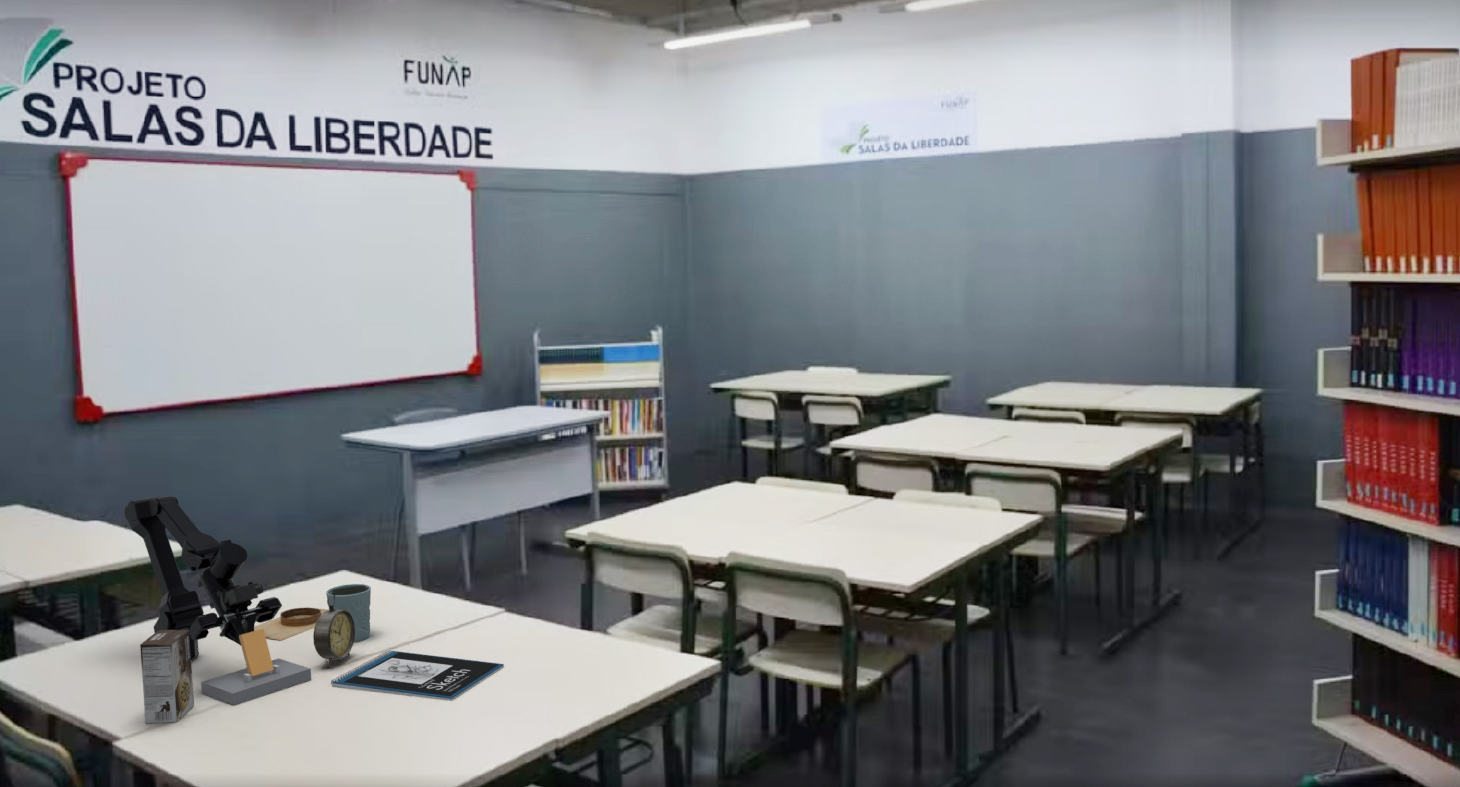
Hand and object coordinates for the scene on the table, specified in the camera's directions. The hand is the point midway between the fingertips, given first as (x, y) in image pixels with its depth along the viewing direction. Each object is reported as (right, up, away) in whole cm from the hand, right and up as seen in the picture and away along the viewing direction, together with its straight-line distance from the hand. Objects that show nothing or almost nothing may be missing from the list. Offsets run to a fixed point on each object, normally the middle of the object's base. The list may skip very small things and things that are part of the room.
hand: (253, 650), depth 244 cm
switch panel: (+1, -8, 0) cm, 8 cm away
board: (-8, -4, +46) cm, 47 cm away
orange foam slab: (+2, -5, -1) cm, 6 cm away
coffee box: (-10, -10, -15) cm, 21 cm away
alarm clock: (+12, -6, +16) cm, 21 cm away
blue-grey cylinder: (+10, -5, +33) cm, 35 cm away
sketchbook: (+34, -8, +6) cm, 35 cm away
